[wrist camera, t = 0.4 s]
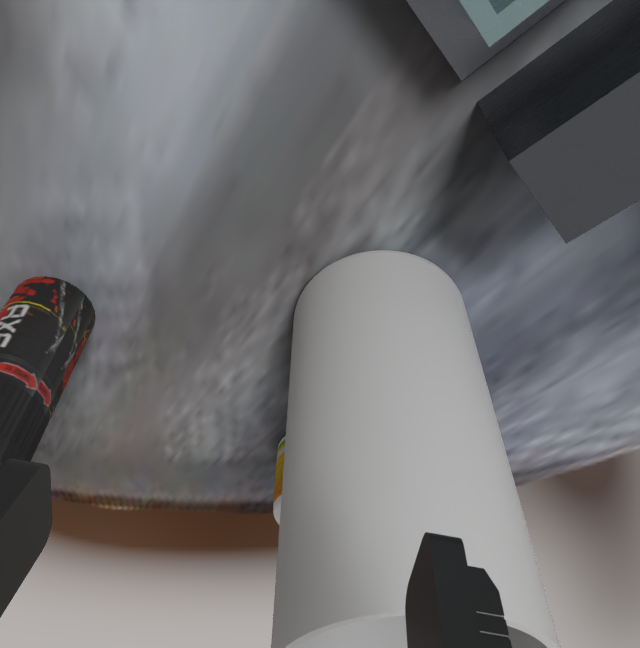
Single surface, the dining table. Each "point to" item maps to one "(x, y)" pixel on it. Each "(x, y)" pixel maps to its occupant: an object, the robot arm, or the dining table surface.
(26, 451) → the deodorant
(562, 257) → the dining table surface
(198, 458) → the dining table surface
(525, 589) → the cylinder vase
